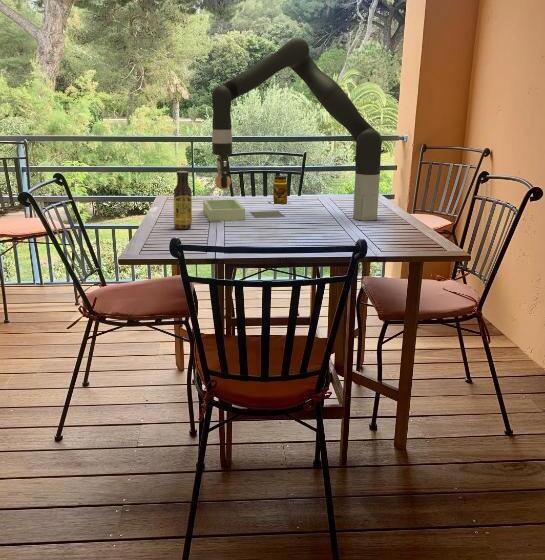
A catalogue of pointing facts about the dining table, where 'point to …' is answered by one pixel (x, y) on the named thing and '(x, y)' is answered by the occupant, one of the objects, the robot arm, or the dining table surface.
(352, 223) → the dining table surface
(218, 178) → the ball
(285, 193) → the condiment
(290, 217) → the dining table surface
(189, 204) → the sauce bottle
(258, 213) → the mat
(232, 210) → the tray
